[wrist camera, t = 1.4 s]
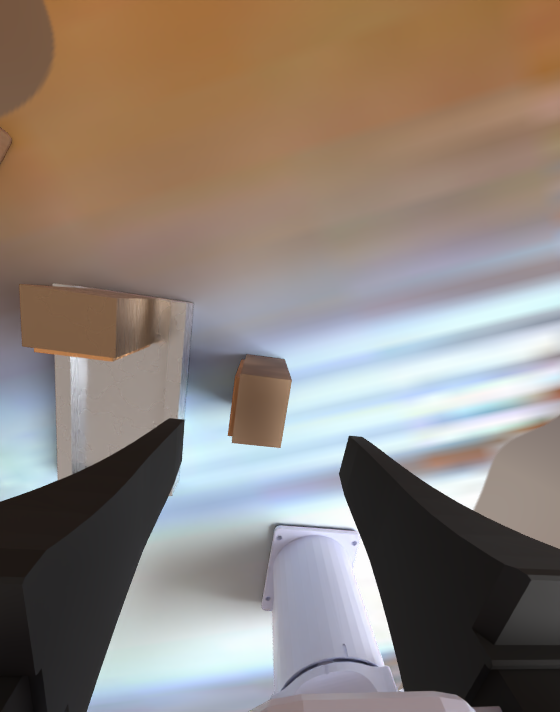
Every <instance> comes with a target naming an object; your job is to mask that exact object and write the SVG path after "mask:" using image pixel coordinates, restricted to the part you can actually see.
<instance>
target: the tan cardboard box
mask: <svg viewBox="0 0 560 712" xmlns="http://www.w3.org/2000/svg"><path fill="white" fill-rule="evenodd" d="M291 382H292V380H291V377H290V374H289V371H288V368H287V365H286V362H285V359H279V358H272V357H264V356H257V355H250V354H246V357H245V360H244V359H241V362H240V365H239V367H238V370H237V373H236V375H235V381H234V389H233V397H232V406H231V414H230V422H229V430H228V436H233V437H232V443H238V444H248V445H257V446H267V447H276V448H281V442H282V436H283V430H284V424H285V418H286V412H287V406H288V400H289V394H290V388H291Z"/></svg>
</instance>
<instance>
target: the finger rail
mask: <svg viewBox="0 0 560 712" xmlns="http://www.w3.org/2000/svg"><path fill="white" fill-rule="evenodd" d="M19 292H20V312H21V331H22V346H23V347H31V348H34V352H39V353H47V354H55V392H56V431H57V470H58V480H60V479H62V478H65V477H67V476H70V475H72V474H74V473H76V472H79V471H81V470H83V469H85V468H87V467H89V466H91V465H93V464H95V463H97V462H99V461H101V460H103V459H105V458H107V457H109V456H111V455H112V454H114V453H116V452H117V451H119V450H121V449H122V448H124V447H126V446H127V445H129V444H131V443H133V442H134V441H136V440H137V439H139V438H140V437H142V436H143V435H145V434H146V433H148V432H149V431H151V430H152V429H154V428H155V427H157V426H158V425H160V424H161V423H163V422H164V421H166V420H167V419H169V418H174V419H184V415H185V403H186V391H187V379H188V367H189V354H190V342H191V330H192V318H193V306H194V303H191V302H184V301H178V300H171V299H164V298H158V297H151V296H144V295H138V294H131V293H124V292H118V291H111V290H104V289H98V288H91V287H84V286H78V285H69V284H56V283H53V286H42V285H26V284H19ZM179 476H180V468H179V471H178V474H177V477H176V480H175V483H174V485H173V488H172V490H171V492H170V494H169V496H172V495H173V493H174V490H175V488H176V486H177V484H178V482H179Z"/></svg>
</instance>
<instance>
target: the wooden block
mask: <svg viewBox="0 0 560 712" xmlns="http://www.w3.org/2000/svg"><path fill="white" fill-rule="evenodd" d="M11 143H12V138H11V137H10V136H9V134H8V133H7V132H6V131H5V130H3V129H2V128H1V127H0V164H1V162H2V160H3V158H4V156H5V154H6V153H7V151H8V149H9V147H10V145H11Z"/></svg>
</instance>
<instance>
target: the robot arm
mask: <svg viewBox="0 0 560 712" xmlns="http://www.w3.org/2000/svg"><path fill="white" fill-rule="evenodd" d="M183 435H184V419H174V418H169V419H167V420H166V421H164V422H163V423H161V424H160V425H158V426H157V427H155V428H154V429H152V430H151V431H149V432H148V433H146V434H145V435H143V436H142V437H140V438H139V439H137V440H136V441H134V442H133V443H131V444H129V445H127V446H126V447H124V448H122V449H121V450H119V451H117V452H116V453H114V454H112V455H111V456H109V457H107V458H105V459H103V460H101V461H99V462H97V463H95V464H93V465H91V466H89V467H87V468H85V469H83V470H81V471H79V472H76V473H74V474H72V475H70V476H67V477H65V478H62V479H60V480H57V481H55V482H53V483H50V484H48V485H45V486H43V487H41V488H38V489H35V490H32V491H30V492H27V493H24V494H21V495H19V496H16V497H13V498H10V499H7V500H4V501H1V502H0V712H87V709H88V706H89V703H90V700H91V697H92V694H93V691H94V688H95V685H96V682H97V679H98V676H99V673H100V670H101V667H102V664H103V661H104V658H105V655H106V652H107V649H108V646H109V643H110V641H111V638H112V635H113V632H114V629H115V626H116V623H117V620H118V617H119V615H120V612H121V609H122V606H123V604H124V601H125V598H126V595H127V592H128V590H129V587H130V584H131V581H132V579H133V576H134V573H135V571H136V568H137V565H138V563H139V560H140V557H141V555H142V552H143V550H144V547H145V545H146V543H147V540H148V538H149V536H150V534H151V532H152V530H153V528H154V526H155V524H156V521H157V519H158V517H159V515H160V513H161V511H162V509H163V507H164V505H165V503H166V500H167V498H168V496H169V494H170V492H171V490H172V488H173V485H174V483H175V480H176V477H177V474H178V471H179V468H180V465H181V462H182V450H183ZM339 475H340V480H341V484H342V488H343V492H344V495H345V498H346V501H347V503H348V506H349V509H350V511H351V514H352V516H353V519H354V521H355V524H356V526H357V529H358V531H359V533H358V532H357V531H348V530H335V529H322V528H308V527H295V526H282V525H280V526H277V527H276V528H275V530H274V535H273V541H272V547H271V552H270V558H269V564H268V569H267V575H266V581H265V587H264V592H263V598H262V609H263V610H266V611H272V629H273V667H274V694H272V695H271V696H270V700H268V701H267V702H265V703H263V704H261V705H259V706H257V707H256V708H254V709H252V710H250V711H248V712H560V549H558V548H555V547H553V546H550V545H548V544H545V543H543V542H540V541H538V540H535V539H533V538H530V537H528V536H525V535H523V534H521V533H519V532H517V531H514V530H512V529H510V528H508V527H505V526H503V525H501V524H499V523H497V522H495V521H493V520H491V519H488V518H486V517H484V516H482V515H481V514H479V513H477V512H475V511H473V510H471V509H469V508H467V507H465V506H463V505H462V504H460V503H458V502H456V501H455V500H453V499H451V498H449V497H448V496H446V495H444V494H443V493H441V492H439V491H438V490H436V489H434V488H433V487H431V486H430V485H428V484H427V483H425V482H424V481H422V480H421V479H419V478H418V477H416V476H415V475H414V474H412V473H411V472H409V471H408V470H406V469H405V468H404V467H402V466H401V465H400V464H398V463H397V462H396V461H394V460H393V459H392V458H390V457H389V456H388V455H386V454H385V453H384V452H382V451H381V450H380V449H378V448H377V447H376V446H374V445H373V444H372V443H370V442H369V441H367V440H366V439H364V438H363V437H357V436H349V438H348V442H347V445H346V449H345V453H344V457H343V461H342V464H341V468H340V472H339ZM359 534H360V535H359ZM278 536H279V537H278ZM360 536H361V539H362V541H363V544H364V546H365V549H366V551H367V554H368V557H369V560H370V563H371V566H372V569H373V573H374V576H375V579H376V583H377V586H378V589H379V593H380V597H381V600H382V604H383V607H384V611H385V615H386V618H387V622H388V626H389V630H390V634H391V638H392V642H393V646H394V650H395V654H396V658H397V662H398V666H399V670H400V675H401V679H402V684H403V688H404V689H401V690H397V687H396V685H395V682H394V679H393V676H392V673H391V670H390V667H389V666H385V665H384V662H383V659H382V656H381V653H380V650H379V647H378V644H377V641H376V638H375V635H374V632H373V629H372V626H371V623H370V620H369V617H368V614H367V611H366V608H365V605H364V602H363V599H362V596H361V593H360V590H359V587H358V584H357V581H356V578H355V575H354V571H353V566H354V562H355V558H356V554H357V550H358V546H359V542H360ZM353 541H354V542H353ZM398 691H399V692H398Z"/></svg>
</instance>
